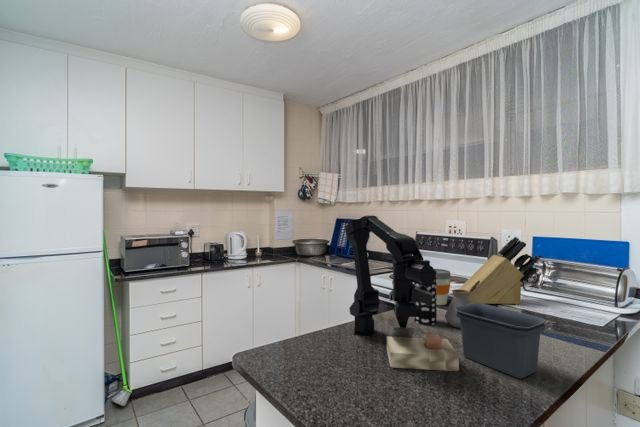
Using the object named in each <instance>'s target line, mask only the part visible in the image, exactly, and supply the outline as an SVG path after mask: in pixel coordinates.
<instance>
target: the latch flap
mask: <svg viewBox="0 0 640 427" xmlns="http://www.w3.org/2000/svg"><path fill="white" fill-rule="evenodd" d="M391 332H392V333H391V337H397V338H412V337H413V336H414V334H415V327H406V328H401V327H400V326H398V327H397V326H394V327H393V328H392V331H391ZM413 338H414V337H413Z"/></svg>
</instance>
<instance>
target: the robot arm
mask: <svg viewBox="0 0 640 427" xmlns="http://www.w3.org/2000/svg"><path fill="white" fill-rule="evenodd" d="M344 231H345V235H346V240H347V242H349V244H350V245H351V246H352V251H353V260H354V261H353V262H354V268H355V277H356V284H357V287H356V290H355V292H354V296H353V303H352V304H351V305H350V307H349V315H351V316H353V317H354V328H353V329H354V330H353V334H354V335H363V336H364V335H365V336H366V335H367V336H373V335H374V332H375V318H374V317H373V316H374V315H378V311H379V308H380V302H381V301H380V300H381V299H380V295H379V290H378V289H375V288H374V287H373V285H372V280H371V279H372V277H371V271H370V270H371V269H370V264H369V263H370V262H369V257H368V256H369V255H368V248H367V244H368V242H369V240H370V233H372V234H374V235H375V236H376V237H378V239H380V240H381V241H382V242H384V243H385V246H386V247H385V248H386V250H387V251H388V253H390V255H391V257H390V258H389V259H388V263H391V264H392V281H391V284H392V290H391V291H389V296H388V297H389V301H390V302H391V301H393V302H394V304H391V307H392V310H393V312H394V316H395V318H396V320H397V323H398V327H401V328H407V325H408V321H409V318H414V317H419V308H418V307H417V306H416V305H415V304H414V302H416V300H417V301H419V302H422V303H425V304H426V305H428V306H430V304H431V301H432V299H433V295H432V293H430V292H429V291H427V290H426V287H425V286H429V285H431V284H432V283H433V282H434V280H435V275H436V273H435V271H434V269H435V268H434V267H433V266H432V265H431V264H430V263H431V262H430V260H428V259H424V257H423V254H422V252H421V251H420V249H419V247H418V244H417V243H416V239H415V238H414V237H412V236H409V235H407V234H405V233H399V232H398V231H396V230H394V229H393V228H391V227H390V226H389V225H387V224H386V223H384V222H383V221H382V220H380V219H379V218H378V216H376V215H364V216H362V217H360V218H358V219H355V220H352V221H349V222H348V223H347V224H346V226H345V230H344ZM414 283H417V284H421V285H419V286H418V287H415V285H414ZM423 285H425V286H423Z"/></svg>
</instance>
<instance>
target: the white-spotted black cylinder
mask: <svg viewBox="0 0 640 427" xmlns="http://www.w3.org/2000/svg"><path fill="white" fill-rule="evenodd" d="M434 271H435V273H436V275H435V280H434V282H433V283H432V284H431V285H429V286H425V285H423V286H425V287H426V290H427V291H429V292H430V293H432V295H433V299H432V301H431V304H430V306H428V305H426V304H425V303H422V302H419V301H417V300H416V302H413V303H414V304H415V305H416V306H417V307H418V308H419V317H413V321H414V323H416V324H418V325H422V326H434V325H437V319H438V318H437V316H438V315H437V311H438V310H437V307H438V305H437V271H436V270H434ZM413 284H414V285H415V287H418V286H419V285H421V284H417V283H414V282H413Z"/></svg>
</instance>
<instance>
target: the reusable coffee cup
mask: <svg viewBox="0 0 640 427" xmlns="http://www.w3.org/2000/svg"><path fill="white" fill-rule="evenodd" d="M434 270H436V271H437V306H445V305H447V303H448V296H449V294H450V290H451V289H450V288H451V283H450V282H451V277H452V276H451V271H450V270H448V269H444V268H443V269H442V268H434Z"/></svg>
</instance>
